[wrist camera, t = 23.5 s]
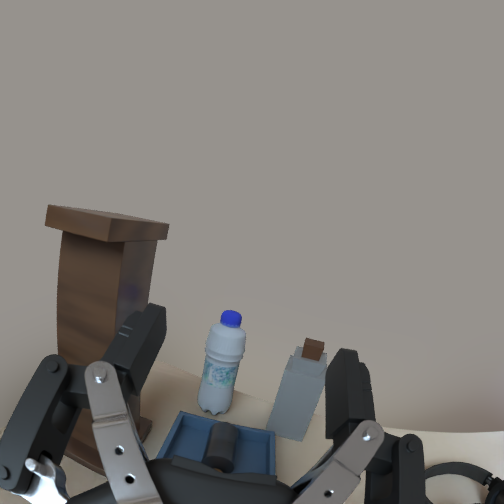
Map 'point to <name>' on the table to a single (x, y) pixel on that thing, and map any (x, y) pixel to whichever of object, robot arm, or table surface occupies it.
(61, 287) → the brown tall pedestal fixture
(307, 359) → the perfume bottle
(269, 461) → the tray
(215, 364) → the bottle
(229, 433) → the round carving mallet
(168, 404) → the table surface
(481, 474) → the headphones
